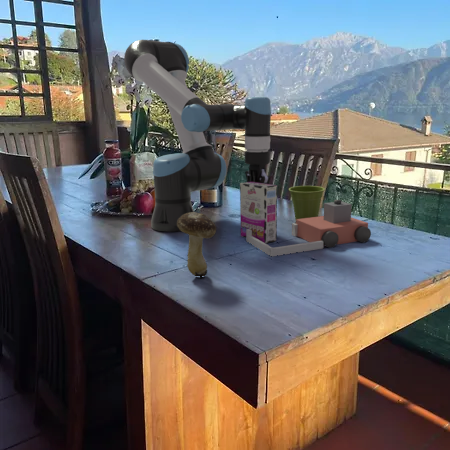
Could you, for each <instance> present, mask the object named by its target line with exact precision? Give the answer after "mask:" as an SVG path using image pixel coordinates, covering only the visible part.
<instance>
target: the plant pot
mask: <svg viewBox="0 0 450 450" xmlns="http://www.w3.org/2000/svg"><path fill="white" fill-rule="evenodd" d="M325 190H326V188H325V187H322V186H320V185H319V186H317V185H298V186H291V187H289V188H288V191H289V192H290V197H291V200H292V205H293V213H294V219H295V220H294V221H296V219H303V218H311V217H319V213H320V207H321V201H322V197H323V194H324V191H325Z"/></svg>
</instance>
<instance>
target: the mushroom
mask: <svg viewBox="0 0 450 450" xmlns="http://www.w3.org/2000/svg"><path fill="white" fill-rule="evenodd" d="M177 226H178V228H179V229H180V230H181V231H180V232H182V233H184V234H186V235H188V250H187V254H186V256H187V265H186V266H187V269H188V271H189V273H191V274H192V276H194V277H195V276H200V277H202V276H205V275H207V274H208V264H207V262H206V259H205V257H204V255H203V240H204V239H211V238H212V237H214V236H215V234H216V232H217V226H216V224H215V223H214V221H213V220H212V219H211V218H210V217H209V216H207V215H206V214H204V213H200V212H195V211H194V212H190V213H186V214H184V215H182V216H181V217H180V218H179V219H178V221H177Z"/></svg>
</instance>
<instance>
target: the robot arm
mask: <svg viewBox="0 0 450 450" xmlns="http://www.w3.org/2000/svg"><path fill="white" fill-rule="evenodd" d="M123 56H124V57H123V58H124V59H123V60H124V66H125V69H126V70H127V72H128V74H130V76H131V77H132V78H134V79H135V80H136V81H137V82H139V83H144V84H145V85H146V86H147V87H148V88H150V90H152V91H153V93H155V94H157V96H158V97H159V98H161V99H162V100H163V101H164V102H165V103H166V105H167V108H168V110H169V114H170V117H171V120H172V122H173V126H174V130H175V132H176V134H177V137H178V140H179V144H180V147H181V148H182V152H180V153H179V152H178V153H172V154H171V153H170V154H164V155H162V156H161V155H160V156H158V157H157V158H155V160H154V161H153V164H152V166H153V171H152V174H153V184H154V185H153V186H154V188H153V189H154V199H155V200H154V202H155V203H154V204H155V205H154V209H153V212H152V216H151V220H150V225H151V229H152V230H154V231H159V232H169V233H170V232H174V233H175V232H182V231H181V230H180V229H179V228H178V226H177V221H178V219H179V218H180V217H181V216H182V215H184V214H186V213H190V212H195V210H194V207H193V204H192V193H193V192H197V191H204V190H211V189H213V188H217V187H219V186H220V185H221V184H222V183H224V181H225V179H226V176H227V163H226V161H225V158H224V157H223V156H222V155H221V154H219V153H215V150H214V148H213V145H212V144H209V143H207V140H206V138H205V137H206V136H205V133H204V132H210V131H211V132H212V131H226V130H230V131H231V130H242V131H243V130H244V150H246V151H245V152H244V163H245V164H246V165H249V166H248V170H246V171H245V172H244V173H245V177H246V178H245V179H246V182H257V183H264V184H270V180H271V176H270V175H267V168H266V165H269V164H270V163H271V151H269V150H270V149H271V118H272V108H271V106H272V104H271V99H270V98H269V97H267V96H259V97H258V96H256V97H246V98H245V100H244V104H240V103H239V104H236V103H235V104H233V103H225V104H207V103H206V102H205V101H204V100H202V99H201V98H200V97H199V96H197V95H196V94H195V93H194V92H192V90H190V89H189V88H188V86H187V84H186V79H187V77H188V72H189V68H190V66H189V64H190V58H189V54H188V52H187V51H186V49H185V47H183V46H182V45H181V44H178V43H176V42H171V41H158V40H151V39H150V40H149V39H137V40H135V41H133V42H132V43H130V44H129V45H128V47H127V48H126V49H125V52H124V55H123Z"/></svg>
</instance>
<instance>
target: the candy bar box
mask: <svg viewBox="0 0 450 450" xmlns="http://www.w3.org/2000/svg"><path fill="white" fill-rule="evenodd" d="M239 195H240V196H239V198H240V200H239V201H240V202H239V207H240V209H239V210H240V212H239V215H240V237H242V238H245V239H246V229H250V230H252V236H253V237H255V238H257V239H258V240H260V241H262V242H264V243H265V244H270V243H273V242H276V241H277V239H278V238H277V235H278V233H277V229H278V227H277V226H278V224H277V223H278V212H277V211H278V185H276V184H270V183H269V184H264V183H257V182H247V181H245V182H240V183H239Z"/></svg>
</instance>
